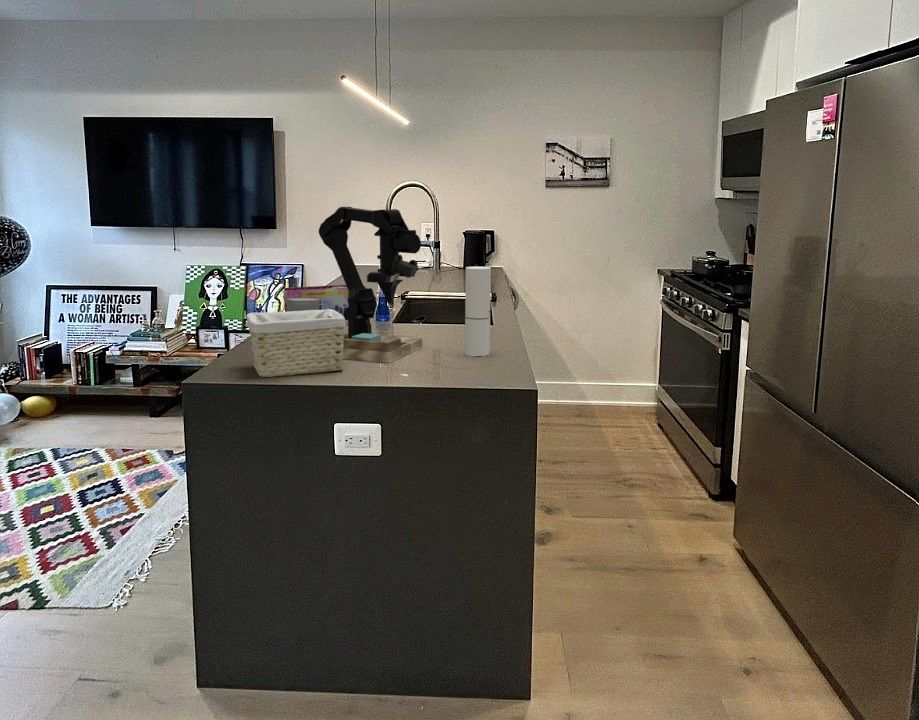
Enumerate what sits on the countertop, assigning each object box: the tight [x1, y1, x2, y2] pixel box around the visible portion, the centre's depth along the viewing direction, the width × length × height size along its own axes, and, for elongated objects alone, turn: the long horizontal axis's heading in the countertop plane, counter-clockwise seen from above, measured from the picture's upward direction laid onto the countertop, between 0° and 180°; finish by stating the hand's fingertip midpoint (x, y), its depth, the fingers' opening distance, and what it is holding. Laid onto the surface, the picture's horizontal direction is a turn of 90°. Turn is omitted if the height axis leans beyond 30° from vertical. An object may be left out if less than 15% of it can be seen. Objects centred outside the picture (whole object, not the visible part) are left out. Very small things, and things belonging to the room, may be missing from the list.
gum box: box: [282, 284, 349, 328], centre depth 279 cm, size 24×8×14 cm, turn 117°
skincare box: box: [286, 298, 319, 312], centre depth 236 cm, size 8×7×16 cm
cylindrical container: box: [464, 266, 492, 357], centre depth 234 cm, size 7×7×25 cm
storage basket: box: [246, 309, 345, 378], centre depth 215 cm, size 24×16×15 cm
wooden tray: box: [343, 333, 423, 364], centre depth 237 cm, size 18×22×6 cm
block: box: [352, 333, 382, 342], centre depth 232 cm, size 6×6×3 cm
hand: (390, 303), depth 249 cm, fingers closed
